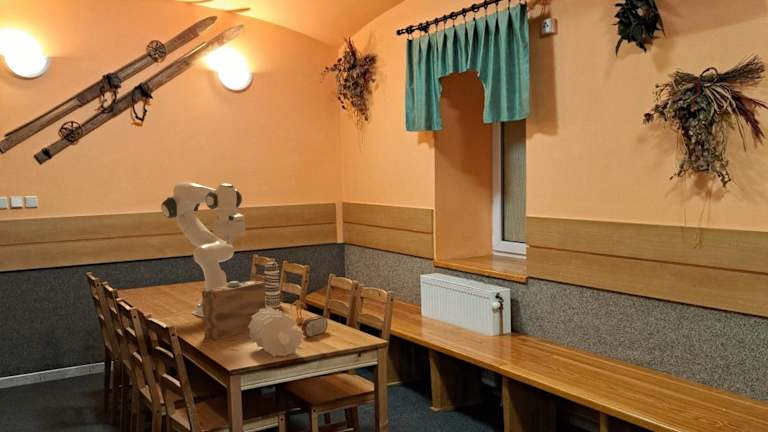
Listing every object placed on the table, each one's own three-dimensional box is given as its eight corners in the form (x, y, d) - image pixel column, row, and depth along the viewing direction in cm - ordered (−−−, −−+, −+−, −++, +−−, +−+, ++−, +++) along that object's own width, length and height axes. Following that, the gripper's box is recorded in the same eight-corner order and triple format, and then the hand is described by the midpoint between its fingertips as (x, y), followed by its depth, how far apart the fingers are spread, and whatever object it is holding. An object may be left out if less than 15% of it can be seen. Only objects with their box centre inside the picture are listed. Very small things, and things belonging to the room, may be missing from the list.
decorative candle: (278, 308, 384) (276, 263, 382) (262, 307, 386) (260, 263, 384) (283, 304, 393) (281, 261, 391) (268, 304, 395) (266, 261, 393)
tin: (324, 331, 326) (323, 313, 325) (329, 332, 324) (328, 314, 323) (301, 338, 314) (300, 320, 314) (306, 339, 312) (305, 320, 312)
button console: (204, 336, 323) (202, 290, 321) (252, 323, 347) (250, 280, 345) (218, 339, 317) (215, 292, 315) (266, 326, 341) (264, 282, 339)
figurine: (293, 325, 339) (292, 301, 338) (289, 323, 344) (288, 299, 344) (309, 323, 342) (308, 300, 342) (305, 321, 348) (304, 298, 347)
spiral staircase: (275, 369, 280) (257, 352, 302) (311, 345, 287) (290, 330, 309) (255, 333, 275) (238, 318, 297) (292, 309, 281) (272, 297, 303)
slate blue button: (226, 287, 330) (226, 282, 330) (234, 286, 334) (234, 281, 333) (233, 288, 327) (233, 283, 326) (241, 286, 331) (241, 281, 330)
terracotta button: (210, 295, 322) (209, 290, 322) (218, 293, 326) (218, 288, 326) (216, 296, 319) (216, 291, 319) (225, 294, 323) (225, 289, 323)
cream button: (242, 288, 338) (242, 283, 338) (250, 286, 342) (250, 281, 342) (249, 289, 335) (249, 284, 335) (257, 287, 339) (257, 282, 339)
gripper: (209, 216, 343) (211, 244, 344) (236, 217, 331) (238, 245, 332) (219, 215, 348) (221, 242, 349) (246, 216, 336) (248, 244, 337)
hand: (229, 244), depth 340 cm, fingers closed
